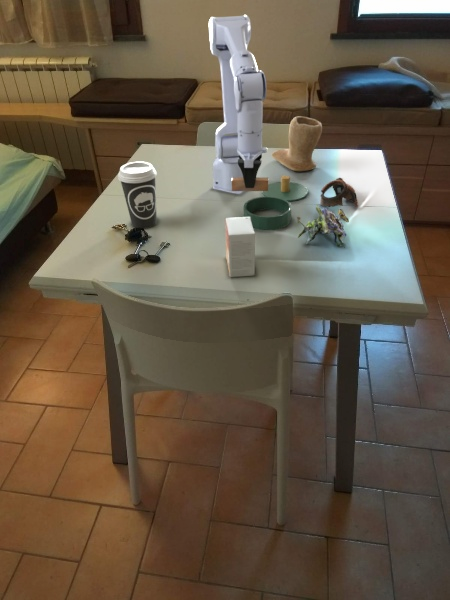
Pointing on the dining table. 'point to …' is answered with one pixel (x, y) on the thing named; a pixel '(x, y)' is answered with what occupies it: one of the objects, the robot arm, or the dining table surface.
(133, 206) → the coffee cup
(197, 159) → the dining table surface
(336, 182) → the brown hollow shell
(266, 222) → the tin
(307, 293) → the dining table surface
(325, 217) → the passion flower
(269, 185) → the tin lid
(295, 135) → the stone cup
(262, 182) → the stick
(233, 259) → the small box
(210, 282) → the dining table surface
